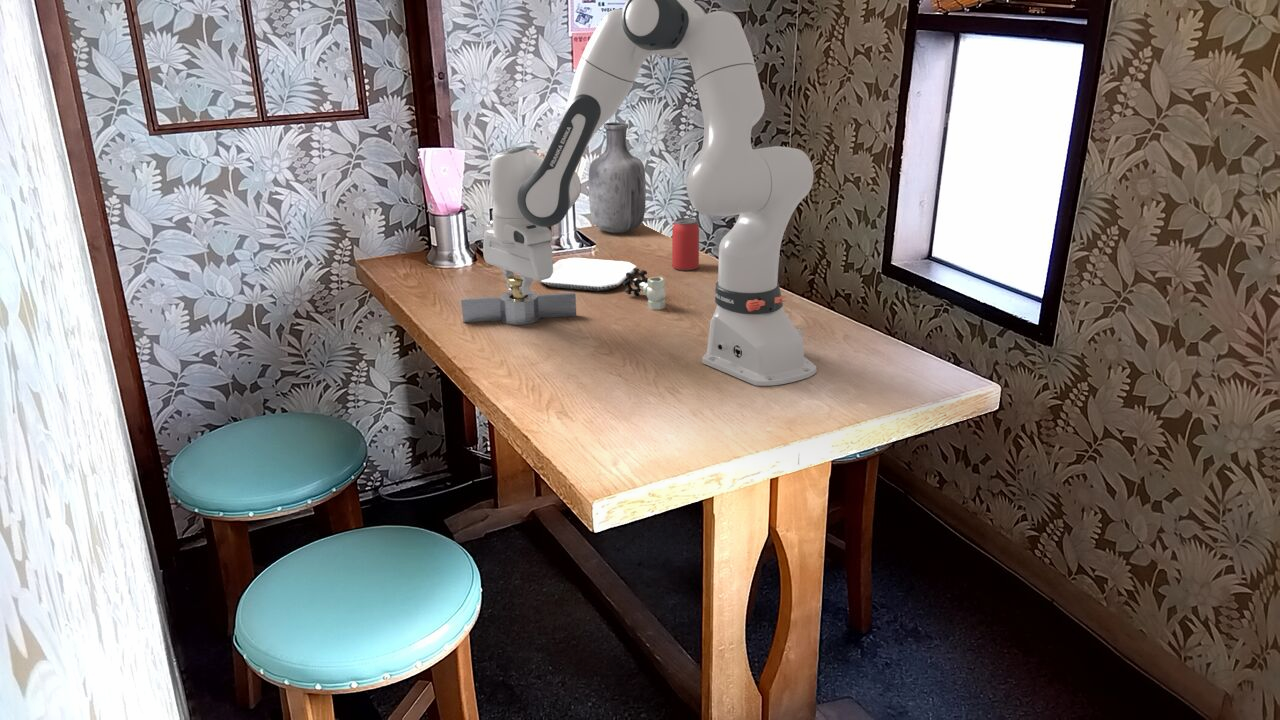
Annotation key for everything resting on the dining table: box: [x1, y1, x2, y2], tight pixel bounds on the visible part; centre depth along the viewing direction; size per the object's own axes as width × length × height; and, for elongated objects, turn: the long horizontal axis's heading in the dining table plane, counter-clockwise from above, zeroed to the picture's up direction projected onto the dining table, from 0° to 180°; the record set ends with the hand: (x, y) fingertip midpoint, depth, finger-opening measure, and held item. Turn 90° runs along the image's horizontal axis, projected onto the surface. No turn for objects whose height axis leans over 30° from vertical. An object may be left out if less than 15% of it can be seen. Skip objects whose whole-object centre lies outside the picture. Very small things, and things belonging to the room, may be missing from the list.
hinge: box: [460, 290, 577, 326], centre depth 202 cm, size 24×8×5 cm, turn 98°
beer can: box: [671, 217, 700, 272], centre depth 235 cm, size 7×7×12 cm
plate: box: [540, 257, 638, 292], centre depth 229 cm, size 21×21×2 cm
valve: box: [622, 267, 667, 311], centre depth 212 cm, size 7×7×12 cm
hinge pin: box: [508, 274, 526, 299], centre depth 201 cm, size 4×4×7 cm
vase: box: [588, 121, 647, 234], centre depth 266 cm, size 16×16×30 cm
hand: (518, 291), depth 201 cm, fingers closed on hinge pin, 3 cm apart
